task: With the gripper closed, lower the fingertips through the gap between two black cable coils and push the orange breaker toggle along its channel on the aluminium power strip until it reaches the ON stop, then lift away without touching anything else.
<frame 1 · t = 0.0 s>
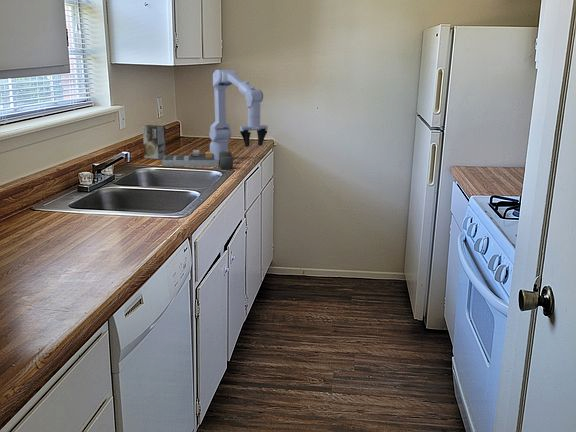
hand: (253, 146, 270), 10 cm above the counter, tool pointing down, fingers open, 7 cm apart
toggle: (208, 155, 274), point 5 cm above the counter, slide at 0.0 cm
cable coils: (225, 160, 275), on the counter
power strip: (201, 164, 277), on the counter
coffee box: (154, 158, 292), on the counter
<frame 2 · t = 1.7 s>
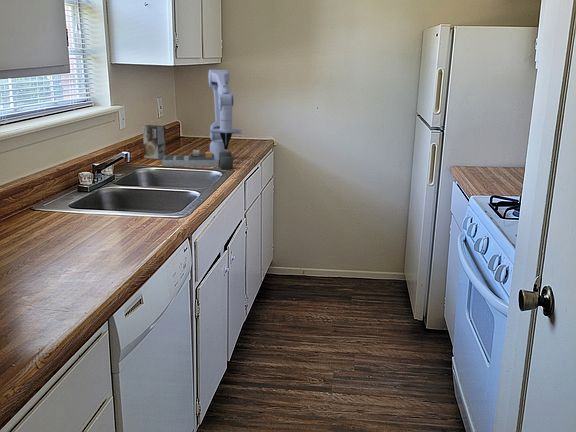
hand: (226, 149, 274), 8 cm above the counter, tool pointing down, fingers closed
nothing on the counter moved.
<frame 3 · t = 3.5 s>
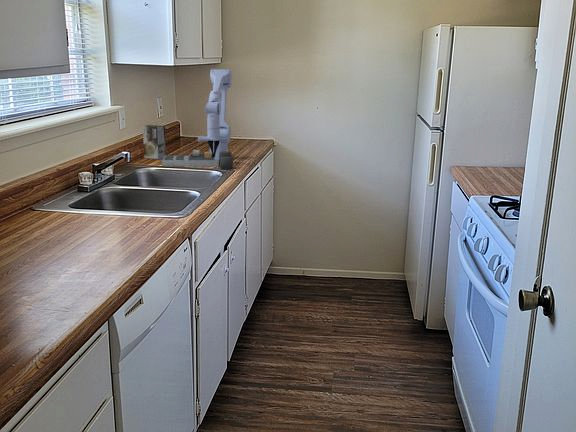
hand: (213, 156, 274), 4 cm above the counter, tool pointing down, fingers closed
toggle: (207, 155, 274), point 5 cm above the counter, slide at 0.5 cm, touching gripper
everything else where it was.
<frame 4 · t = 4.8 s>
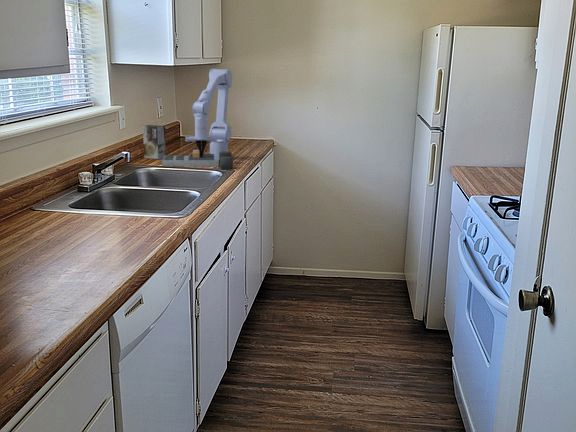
hand: (201, 156, 273), 4 cm above the counter, tool pointing down, fingers closed
toggle: (195, 155, 273), point 5 cm above the counter, slide at 6.1 cm, touching gripper
everything else where it was.
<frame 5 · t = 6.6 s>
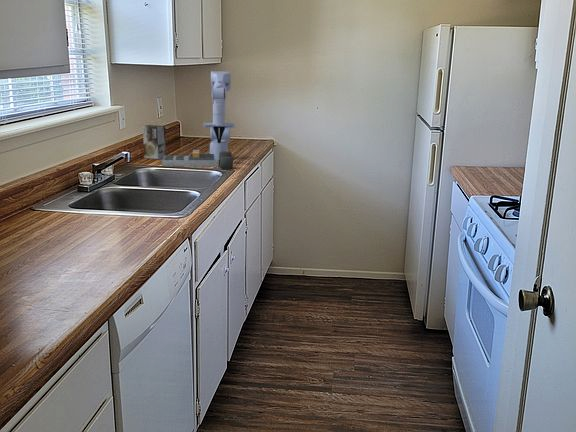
hand: (219, 142, 275), 10 cm above the counter, tool pointing down, fingers closed
toggle: (195, 155, 273), point 5 cm above the counter, slide at 6.0 cm
everything else where it was.
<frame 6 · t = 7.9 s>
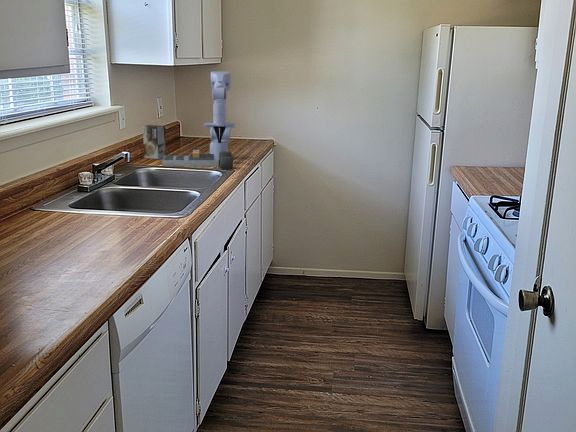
hand: (219, 142, 275), 10 cm above the counter, tool pointing down, fingers closed
nothing on the counter moved.
at the end: toggle slide at 6.0 cm; coffee box moved 0.2 cm from its start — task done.
